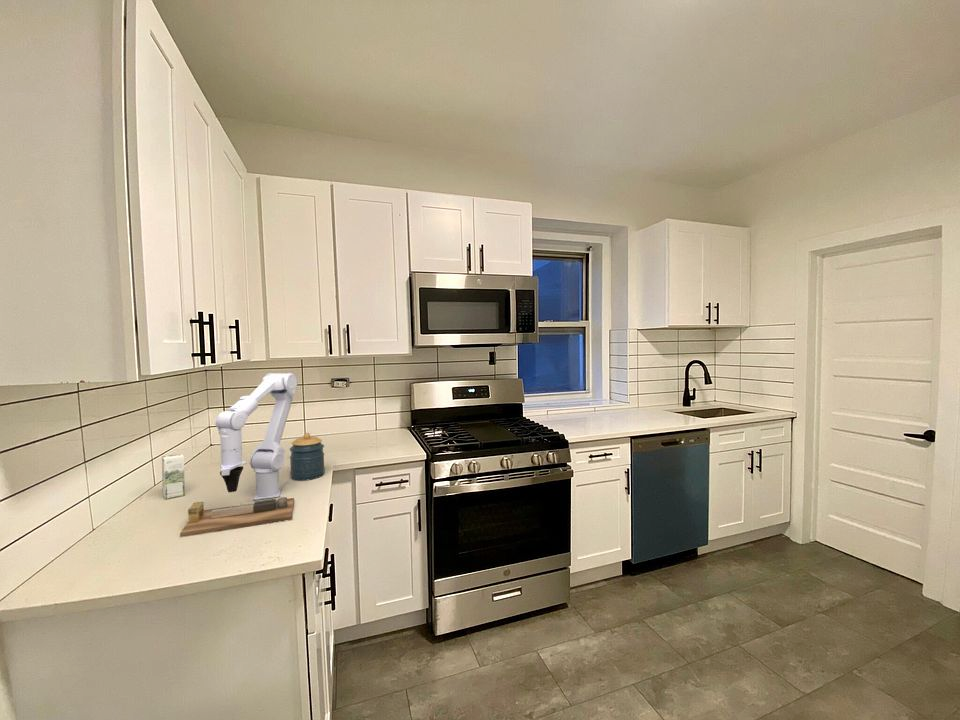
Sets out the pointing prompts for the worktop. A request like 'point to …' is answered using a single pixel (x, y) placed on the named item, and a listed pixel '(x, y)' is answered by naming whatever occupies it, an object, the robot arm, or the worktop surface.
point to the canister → (307, 458)
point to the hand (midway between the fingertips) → (232, 491)
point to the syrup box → (173, 476)
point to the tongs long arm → (243, 509)
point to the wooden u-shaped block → (195, 512)
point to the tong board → (240, 518)
